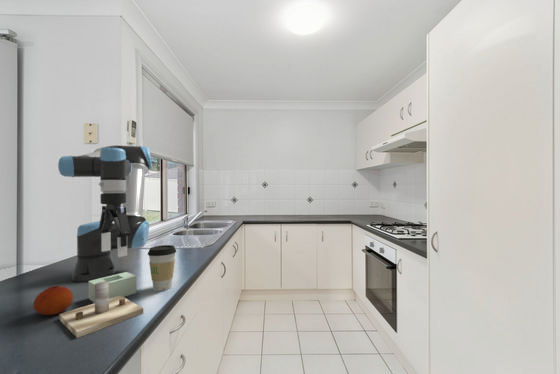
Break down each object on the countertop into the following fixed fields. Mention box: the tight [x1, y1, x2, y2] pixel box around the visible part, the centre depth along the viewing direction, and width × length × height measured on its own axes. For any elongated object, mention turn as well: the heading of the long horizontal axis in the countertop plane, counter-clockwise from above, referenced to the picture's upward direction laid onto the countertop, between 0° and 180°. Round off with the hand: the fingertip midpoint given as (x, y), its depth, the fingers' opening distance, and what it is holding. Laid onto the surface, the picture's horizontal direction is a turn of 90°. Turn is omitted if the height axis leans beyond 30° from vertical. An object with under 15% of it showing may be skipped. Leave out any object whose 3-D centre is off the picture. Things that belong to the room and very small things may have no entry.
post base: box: [58, 281, 144, 339], centre depth 76 cm, size 16×16×10 cm
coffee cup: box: [147, 244, 177, 292], centre depth 98 cm, size 10×10×15 cm
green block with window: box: [88, 271, 138, 304], centre depth 91 cm, size 12×8×6 cm, turn 143°
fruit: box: [33, 285, 74, 316], centre depth 79 cm, size 9×9×8 cm
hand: (114, 253), depth 91 cm, fingers open, 13 cm apart
